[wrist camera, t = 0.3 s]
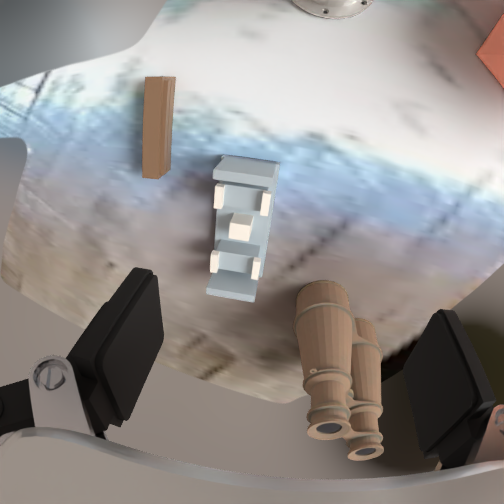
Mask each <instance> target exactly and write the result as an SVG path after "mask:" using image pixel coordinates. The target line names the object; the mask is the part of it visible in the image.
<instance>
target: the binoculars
mask: <svg viewBox="0 0 504 504" xmlns="http://www.w3.org/2000/svg"><path fill="white" fill-rule="evenodd" d="M293 331H294V333H295V336H296V337H297V338H298V344H299V350H300V356H301V363H302V369H303V375H304V381H303V388H304V390H305V391H306V392H307V393H308V394H309V395H311V409H310V410H309V411H308V413H307V420H308V421H309V422H310V423H311V424H310V425H309V427H308V429H307V433H308V435H309V436H310V437H312V438H315V439H319V440H331V439H337V438H340V437H343V438H344V439H345V440H346V441H347V442H346V444H347V446H348V447H349V448H350V451H349V452H348V458H349V459H351V460H367V459H371V458H374V457H377V456H379V455H380V454H382V453H383V447H382V446H381V444H380V442H381V441H382V440H383V436H382V434H381V433H380V432H379V431H378V422H377V418H379V417H380V415H381V414H382V412H383V407H382V405H381V367H380V362H381V360H382V357H383V356H382V350H381V348H380V347H379V346H378V342H377V338H376V334H375V328H374V326H373V325H372V324H371V323H370V322H369V321H367V320H365V319H360V318H354V316H353V314H352V312H351V311H350V308H349V300H348V294H347V292H346V291H345V289H344V288H343V287H342V286H341V285H339V284H337V283H335V282H332V281H328V280H320V281H315V282H312V283H310V284H308V285H306V286H305V287H304V288H302V289H301V291H300V292H299V293H298V295H297V298H296V317H295V320H294V322H293Z"/></svg>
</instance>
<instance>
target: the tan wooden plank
mask: <svg viewBox="0 0 504 504" xmlns="http://www.w3.org/2000/svg"><path fill="white" fill-rule="evenodd" d="M175 80H176V77H145V92H144V111H143V145H142V178H151V179H159V178H160V177H162V176H163V175H164V174H166V173H167V172H168V171H169V170H170V168H171V141H172V121H173V106H174V92H175Z"/></svg>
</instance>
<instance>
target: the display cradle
mask: <svg viewBox="0 0 504 504" xmlns="http://www.w3.org/2000/svg"><path fill="white" fill-rule="evenodd" d="M279 167H280V162H275V161H268V160H262V159H255V158H247V157H240V156H232V155H224V154H223V155H222V156H221V162H220V163H219V164H218V165H217V166H216V167H215V168H214V169H213V179H215V180H219V184H218V183H217V185H216V186H215V197H214V208H216V209H217V215H216V229H215V244H214V250H213V251H212V253H211V260H210V272H213V273H212V275H211V278H210V280H209V283H208V285H207V289H206V294H209V295H214V296H220V297H225V298H231V299H237V300H242V301H248V302H254V300H255V295H256V290H257V284H258V279H259V277H262V274H263V268H264V262H265V256H266V250H267V244H268V237H269V231H270V225H271V219H272V212H273V206H274V200H275V193H276V187H277V180H278V174H279Z"/></svg>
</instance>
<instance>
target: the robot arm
mask: <svg viewBox="0 0 504 504" xmlns="http://www.w3.org/2000/svg"><path fill="white" fill-rule="evenodd" d="M292 1H293V2H294V3H295V4H296V5H297V6H299V7H300V8H301V9H303V10H305V11H307V12H308V13H311V14H314V15H316V16H319V17H324V18H331V19H342V18H348V17H352V16H355V15H357V14H359V13H361V12H362V11H364V10H365V9H366V8H367V7H368V6H369V5H370V4H371V3H372V1H373V0H292ZM361 2H363V3H364V5H363V4H362V3H361ZM324 11H326V12H327V14H324V13H323V12H324ZM163 339H164V331H163V323H162V315H161V306H160V297H159V287H158V278H157V276H156V275H153V272H152V270H149V269H143V268H137V267H135V268H133V269H132V271H131V272H130V273H129V275H128V276H127V277H126V279H125V280H124V281H123V283H122V284H121V285H120V287H119V288H118V289H117V291H116V292H115V293H114V295H113V296H112V297H111V299H110V300H109V301H108V302H105V303H104V305H103V306H102V307H101V308H100V310H99V311H98V312H97V314H96V315H95V317H94V318H93V319H92V321H91V322H90V324H89V325H88V326H87V328H86V329H85V331H84V332H83V334H82V335H81V337H80V338H79V340H78V341H77V342H76V344H75V345H74V347H73V348H72V350H71V351H70V353H69V354H68V356H67V357H66V358H63V357H61V356H57V355H52V356H51V355H50V356H46V357H43V358H41V359H40V360H38V361H37V362H36V363H35V364H34V365H33V366H32V367H31V370H30V372H29V379H25V380H23V381H19V382H16V383H13V384H9V385H6V386H2V387H0V504H504V405H499V406H496V407H495V408H494V409H493V406H492V405H493V404H494V402H495V401H496V399H495V396H494V394H493V391H492V389H491V386H490V384H489V382H488V380H487V377H486V375H485V372H484V370H483V368H482V365H481V363H480V361H479V359H478V356H477V354H476V352H475V350H474V348H473V346H472V344H471V342H470V340H469V338H468V336H467V334H466V332H465V330H464V328H463V326H462V324H461V322H460V320H459V318H458V316H457V314H456V313H455V311H453V310H443V309H440V310H438V311H437V312H436V313H434V314H433V315H432V317H431V319H430V321H429V323H428V324H427V326H426V328H425V330H424V332H423V334H422V335H421V337H420V339H419V341H418V343H417V344H416V346H415V348H414V350H413V351H412V353H411V355H410V356H409V358H408V360H407V361H406V363H405V365H404V368H403V374H404V378H405V382H406V386H407V390H408V395H409V399H410V403H411V408H412V412H413V417H414V422H415V426H416V432H417V436H418V442H419V447H420V450H421V451H423V454H424V458H425V459H426V458H433V457H437V456H439V458H440V461H439V463H438V465H437V467H436V468H435V470H434V471H433V472H427V473H420V474H413V475H404V476H395V477H384V478H368V479H338V480H337V479H299V478H284V477H272V476H263V475H253V474H246V473H238V472H233V471H226V470H220V469H215V468H210V467H204V466H200V465H195V464H190V463H186V462H182V461H177V460H173V459H169V458H165V457H161V456H158V455H154V454H150V453H147V452H143V451H140V450H136V449H133V448H130V447H126V446H123V445H120V444H117V443H114V442H111V441H109V440H108V438H107V435H106V432H105V431H106V430H107V429H108V426H109V424H112V425H115V426H118V427H121V425H122V423H123V420H125V421H127V420H128V419H129V418H130V416H131V413H132V411H133V409H134V406H135V404H136V402H137V399H138V397H139V395H140V393H141V390H142V388H143V386H144V383H145V381H146V379H147V376H148V374H149V372H150V370H151V367H152V365H153V363H154V361H155V359H156V356H157V354H158V352H159V350H160V348H161V345H162V343H163Z"/></svg>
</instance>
